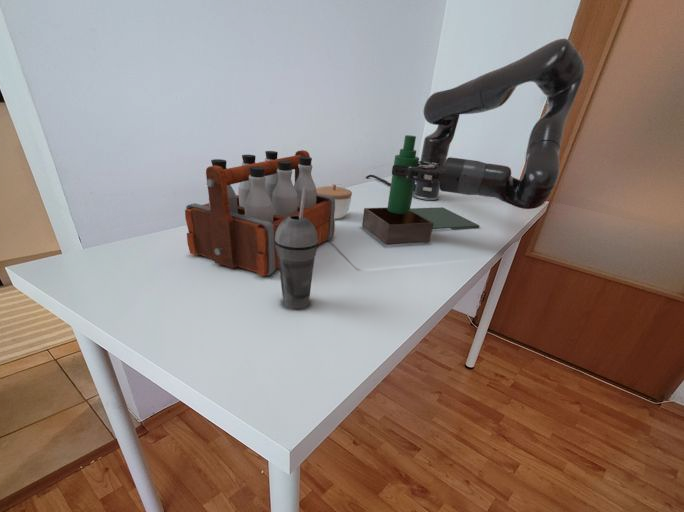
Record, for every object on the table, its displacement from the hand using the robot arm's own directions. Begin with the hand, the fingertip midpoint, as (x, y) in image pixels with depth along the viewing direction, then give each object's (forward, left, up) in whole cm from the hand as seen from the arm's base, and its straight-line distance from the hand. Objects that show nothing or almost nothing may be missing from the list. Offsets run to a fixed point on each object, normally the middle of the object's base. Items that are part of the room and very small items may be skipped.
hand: (396, 167), depth 92 cm
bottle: (+2, +2, -10) cm, 11 cm away
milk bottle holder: (+4, -34, -17) cm, 38 cm away
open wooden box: (+2, +2, -17) cm, 17 cm away
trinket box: (-16, -10, -17) cm, 26 cm away
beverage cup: (+33, -35, -17) cm, 51 cm away
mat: (-10, +24, -17) cm, 31 cm away
